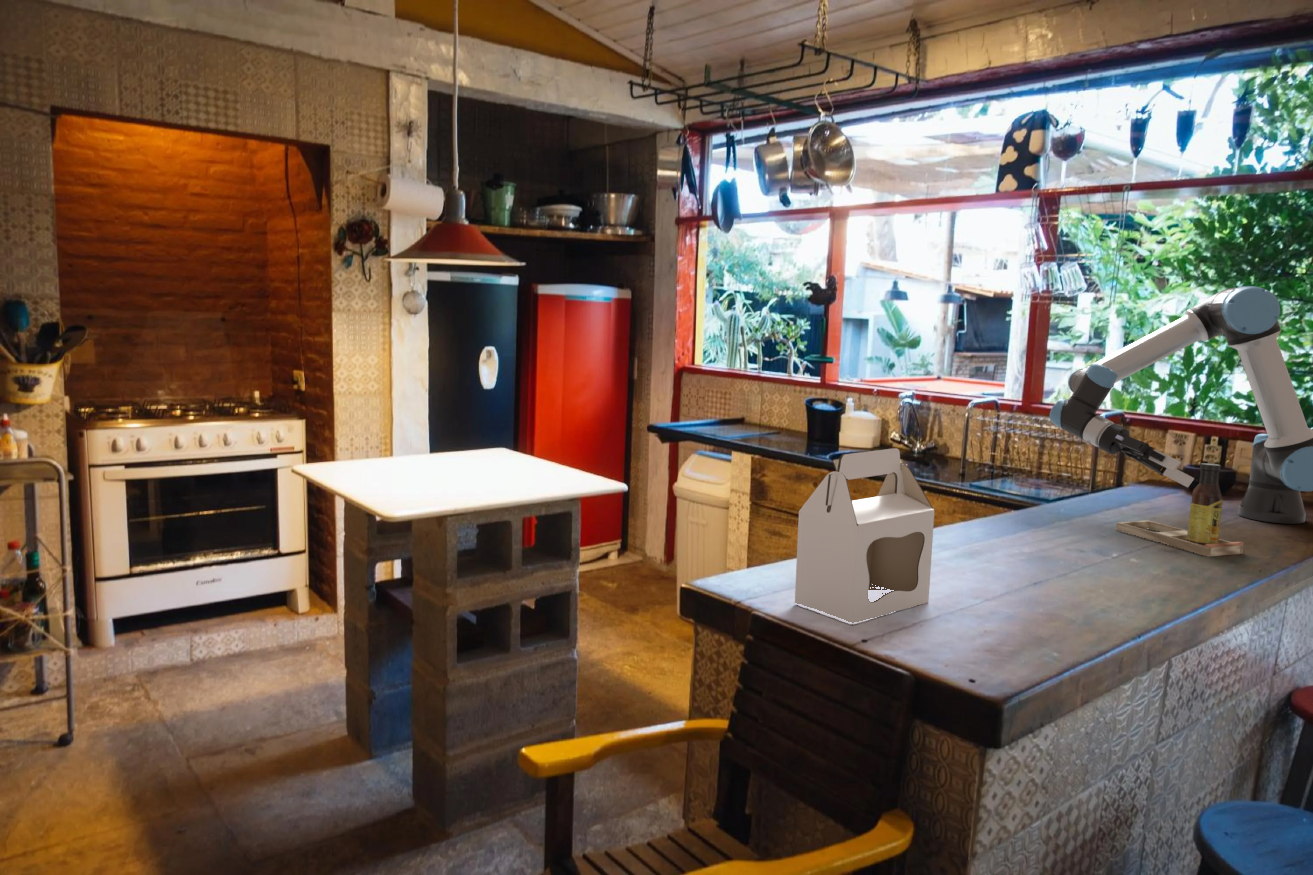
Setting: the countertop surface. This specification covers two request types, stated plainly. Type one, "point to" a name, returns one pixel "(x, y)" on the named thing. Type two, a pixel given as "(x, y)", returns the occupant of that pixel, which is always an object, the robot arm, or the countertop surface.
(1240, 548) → the bottle rack
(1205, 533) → the sauce bottle
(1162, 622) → the countertop surface
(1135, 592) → the countertop surface
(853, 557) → the gable box
